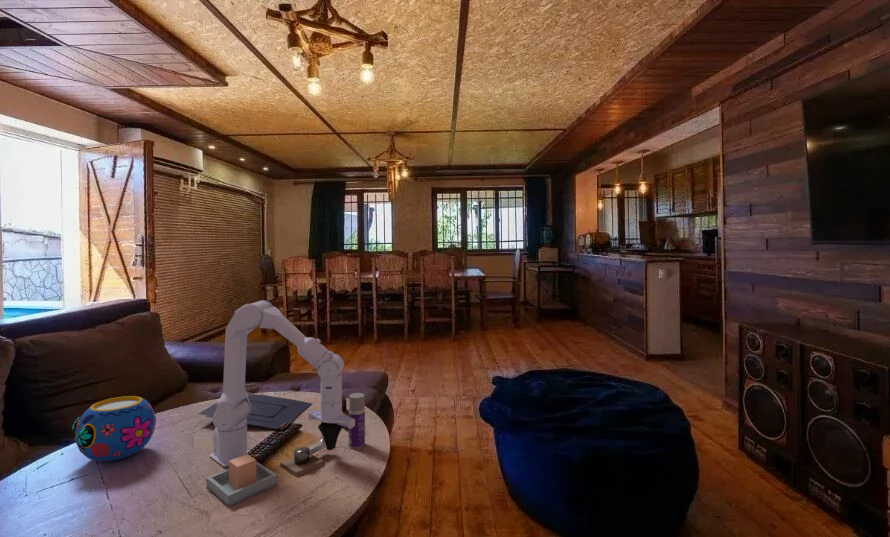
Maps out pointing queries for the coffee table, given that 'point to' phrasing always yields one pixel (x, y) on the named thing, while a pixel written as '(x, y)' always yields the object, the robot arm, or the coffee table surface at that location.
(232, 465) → the block
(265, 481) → the tray
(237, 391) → the robot arm
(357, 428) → the container
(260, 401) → the dark grey flat slab
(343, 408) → the wooden carving
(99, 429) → the ceramic pot
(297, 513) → the coffee table surface
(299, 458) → the crank
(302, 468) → the crank base
